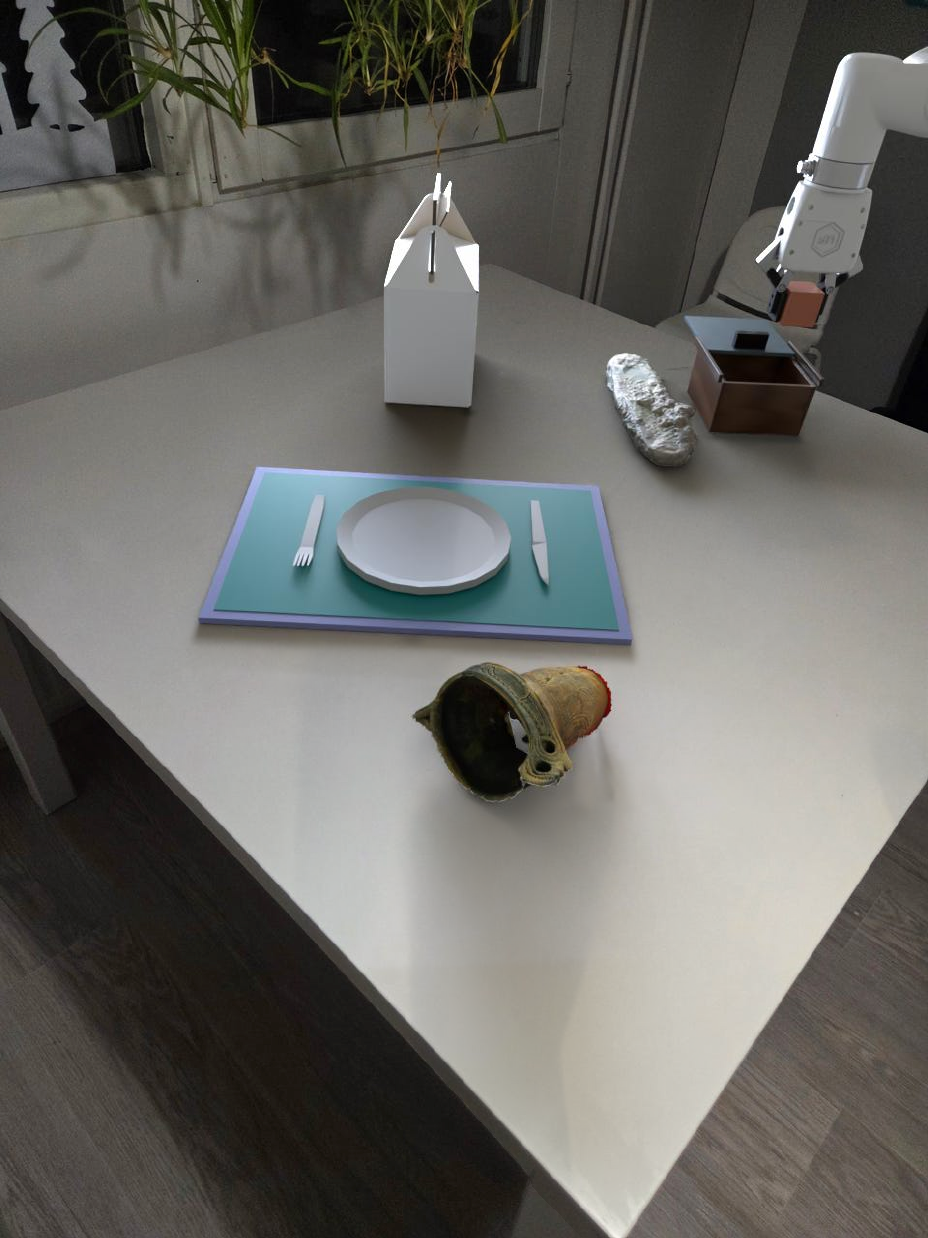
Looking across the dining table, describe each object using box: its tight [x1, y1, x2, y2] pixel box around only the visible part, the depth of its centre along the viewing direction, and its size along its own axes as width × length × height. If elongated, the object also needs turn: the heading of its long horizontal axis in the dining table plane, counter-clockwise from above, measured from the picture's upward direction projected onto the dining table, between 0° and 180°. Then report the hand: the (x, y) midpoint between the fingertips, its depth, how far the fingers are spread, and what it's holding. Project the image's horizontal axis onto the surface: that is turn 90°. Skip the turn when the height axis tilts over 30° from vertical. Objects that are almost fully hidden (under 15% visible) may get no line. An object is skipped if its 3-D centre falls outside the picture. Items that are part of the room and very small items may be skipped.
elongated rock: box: [605, 352, 698, 467], centre depth 126 cm, size 35×5×10 cm
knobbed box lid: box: [684, 315, 795, 358], centre depth 131 cm, size 14×14×3 cm
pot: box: [411, 661, 613, 804], centre depth 72 cm, size 17×11×18 cm
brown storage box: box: [686, 337, 825, 437], centre depth 127 cm, size 16×14×9 cm
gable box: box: [383, 173, 480, 409], centre depth 125 cm, size 22×13×28 cm, turn 179°
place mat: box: [198, 466, 634, 646], centre depth 96 cm, size 45×30×2 cm
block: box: [777, 280, 825, 328], centre depth 113 cm, size 5×5×5 cm
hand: (792, 317), depth 114 cm, fingers closed on block, 4 cm apart
